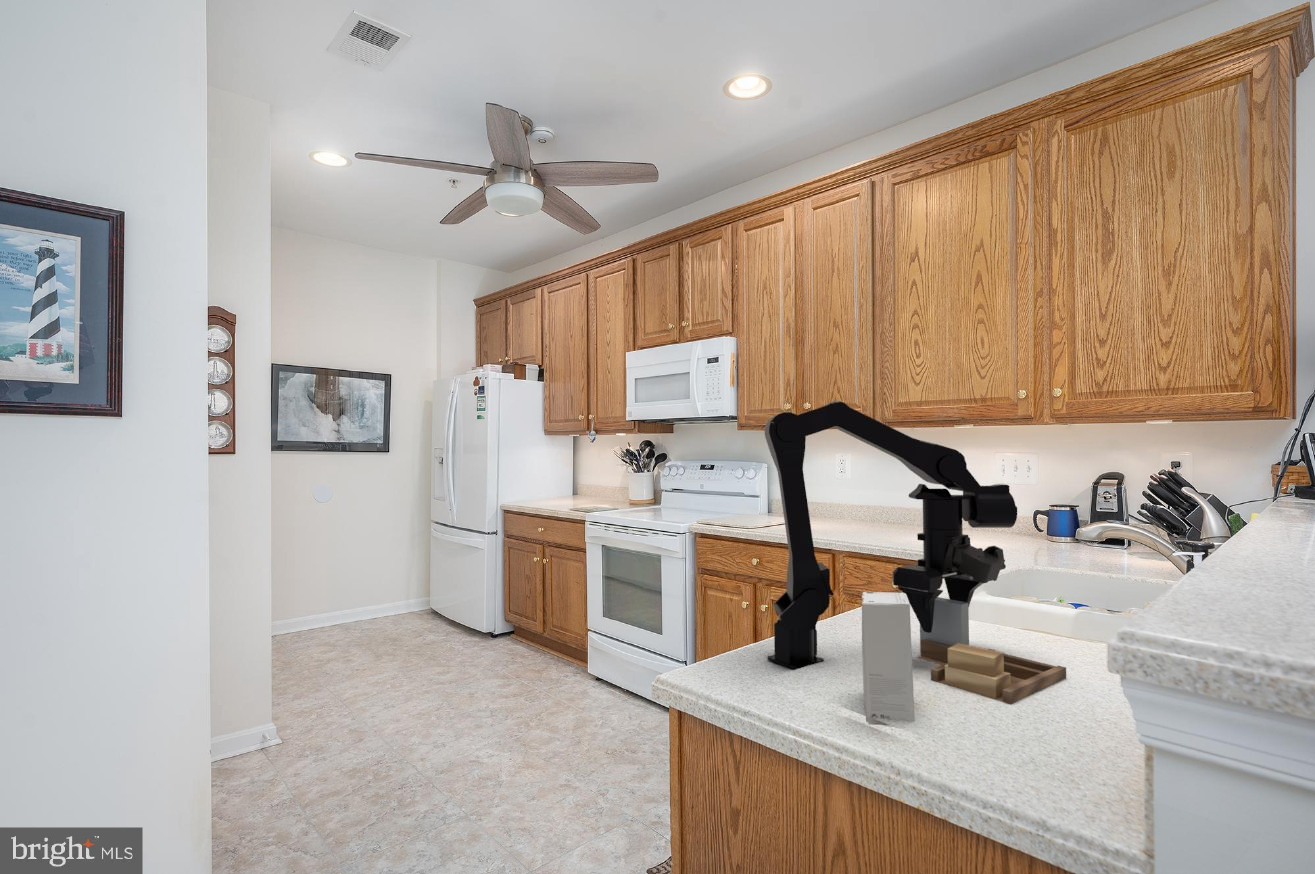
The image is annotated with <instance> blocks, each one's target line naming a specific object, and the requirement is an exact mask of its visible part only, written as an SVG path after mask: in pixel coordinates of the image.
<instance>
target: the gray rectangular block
mask: <svg viewBox="0 0 1315 874" xmlns="http://www.w3.org/2000/svg"><path fill="white" fill-rule="evenodd" d="M969 617H970V616H969V608H968V603H966V602H961V601H956V600H951V599H949V598H945V597H939V596H938V597H937V598H936V599H935V604H934V616H933V626H932V632H931V633H927V632H924V631H923V629H922V627H921V625H920V624H919V646H920V647H919V650H920V652H919V653H920V654H921V640H923V639H926V640H930V641H934V642H938V643H942V644H946V645H950V646H954V645H956V644H958V643H959V644H964V645H969V646H970V625H969V624H970V619H969Z"/></svg>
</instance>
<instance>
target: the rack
mask: <svg viewBox="0 0 1315 874" xmlns="http://www.w3.org/2000/svg"><path fill="white" fill-rule="evenodd" d="M988 649H989V650H994V651H996V650H995V649H991V648H988ZM1003 654H1004V672H1007V673H1010V674H1011V686H1010V687H1008V688H1006V689H1003V690H1002V691H1003V696H1001V697H999V698H997V699H994V698H991V697H988V696H984V695H981V694H978V693H975V692H971V691H968V690H965V689H961V688H958V687H955V686H951V685H948V684H945V665H948V663H947V664H944V665H941V664H940V665H938V666H936V667H933V668H931V669H930V681H933V682H935V683H939V684H943V685H946V686H949V687H952V688H955V689H959V690H961V691H965V692H969V693H972V694H975V695H979V696H981V697H984V698H988V699H992V700H995V701H998V702H1001V703H1005V704H1008V705H1012V704H1015V703H1017V702H1019V701H1021V700H1023V699H1026V698H1027V697H1030V696H1032V695H1034V694H1035V693H1038V692H1040V691H1043V690H1045V689H1047V688H1049V687H1051V686H1053V685H1055V684H1057V683H1060V682H1062V681H1064V680H1066V679H1067V667H1066V666H1062V665H1052V664H1048V663H1045V662H1040V661H1036V660H1031V659H1027V658H1024V657H1020V656H1015V655H1011V654H1006V653H1005V652H1003Z"/></svg>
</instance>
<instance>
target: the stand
mask: <svg viewBox="0 0 1315 874" xmlns="http://www.w3.org/2000/svg"><path fill="white" fill-rule="evenodd" d="M950 647H952V646H950V645H946V644H942V643H938V642H934V641H930V640H926V639H923V640H921V653H920V655H919V656H917V657H916V658H917V659H920V660H923V661H928V662H930V663H934V664H938V665H940V666H941V665H944V664H947V663H948V648H950Z"/></svg>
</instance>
